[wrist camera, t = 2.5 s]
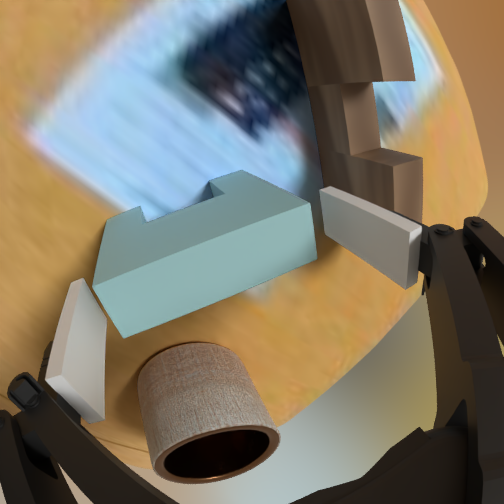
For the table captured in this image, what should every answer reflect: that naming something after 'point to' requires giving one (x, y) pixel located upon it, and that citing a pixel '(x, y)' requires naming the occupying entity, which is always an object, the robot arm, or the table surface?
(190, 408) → the planter
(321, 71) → the walnut fin
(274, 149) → the table surface
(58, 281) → the table surface
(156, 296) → the light blue piece
